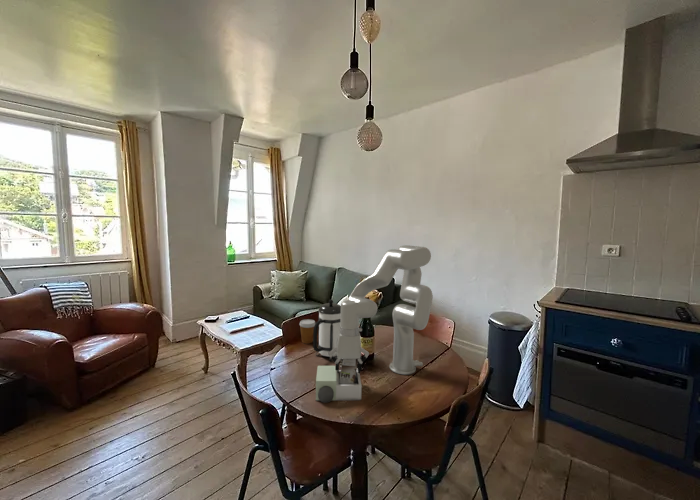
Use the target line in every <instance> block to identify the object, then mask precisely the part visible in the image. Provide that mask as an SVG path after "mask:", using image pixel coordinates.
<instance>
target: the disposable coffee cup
mask: <svg viewBox="0 0 700 500" xmlns="http://www.w3.org/2000/svg"><path fill="white" fill-rule="evenodd" d="M315 324H316V321H315V320H314V319H309V318H308V319H302V320H300V321H299V324H298V325H299V326H300V335H301V342H302V344H313V330H314V326H315Z"/></svg>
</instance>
